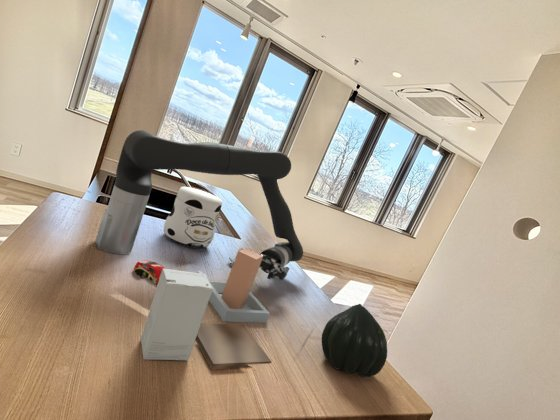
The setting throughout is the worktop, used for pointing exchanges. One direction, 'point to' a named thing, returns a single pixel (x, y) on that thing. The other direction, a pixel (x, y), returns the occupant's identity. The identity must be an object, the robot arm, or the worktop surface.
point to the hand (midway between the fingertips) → (255, 268)
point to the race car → (148, 270)
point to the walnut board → (229, 346)
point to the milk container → (193, 218)
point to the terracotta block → (241, 278)
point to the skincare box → (175, 315)
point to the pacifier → (232, 259)
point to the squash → (355, 342)
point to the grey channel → (247, 313)
